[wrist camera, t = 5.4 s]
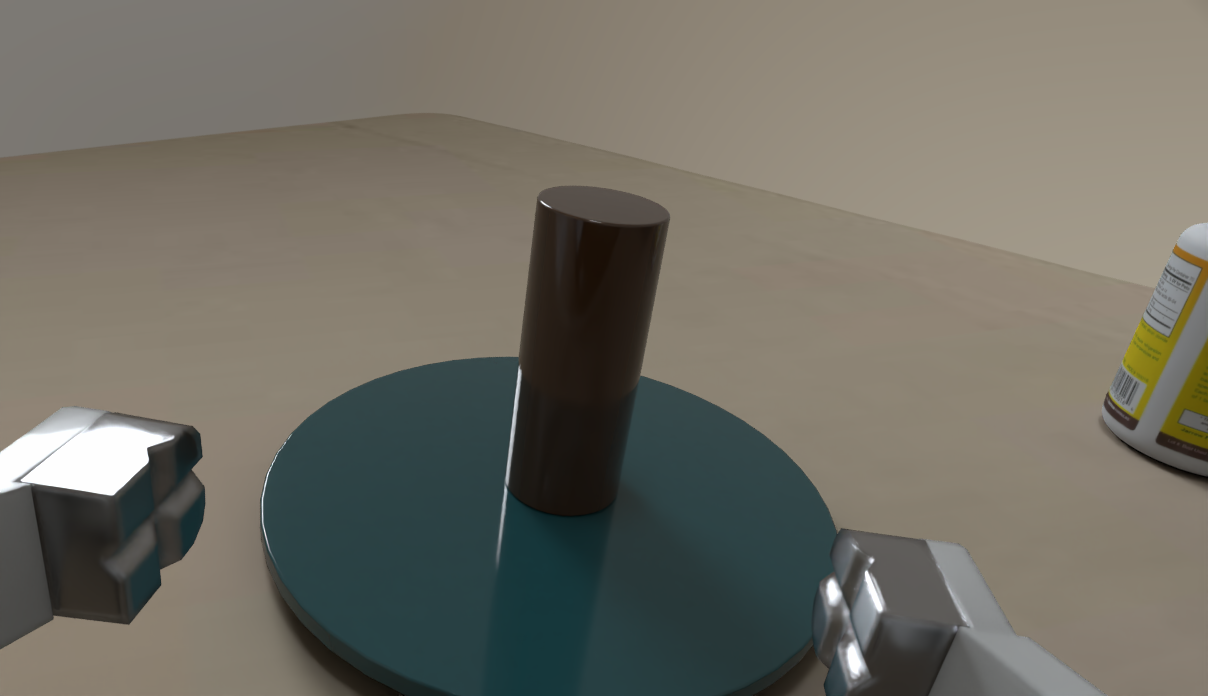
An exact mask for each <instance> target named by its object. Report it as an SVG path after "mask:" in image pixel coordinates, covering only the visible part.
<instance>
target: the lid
mask: <svg viewBox="0 0 1208 696" xmlns="http://www.w3.org/2000/svg"><path fill="white" fill-rule="evenodd" d="M669 221H670V214H669V212H668V211H667V210H666V209H665V208H664V207H662V206H661V205H659V204H657V203H655V202H653V201H651V200H648V199H646V198H643V197H640V196H637V195H634V194H630V193H626V192H622V191H617V190H612V189H606V188H598V187H589V186H559V187H553V188H548V189H545V190H543V191H541V192H540V193H539V195H538V197H537V204H536V213H535V221H534V230H533V238H532V247H531V256H530V264H529V273H528V281H527V290H526V298H525V307H524V316H523V324H522V333H521V341H520V350H519V357H486V358H472V359H461V360H452V361H446V362H440V363H433V364H427V365H423V366H419V367H415V368H410V369H406V370H402V371H398V372H395V373H392V374H389V375H386V376H383V377H380V378H377V379H374V380H372V381H370V382H367V383H365V384H363V385H360V386H358V387H356V388H353V389H351V390H349V391H347V392H346V393H344V394H342V395H340V396H338V397H337V398H335V399H333V400H331V401H330V402H328V403H327V404H325V405H324V406H322V407H321V408H320V409H318V410H317V411H316V412H314V413H313V414H311V415H310V416H309V417H308V418H307V419H306V420H305V421H303V422H302V423H301V424H300V425H299V426H298V427H297V428H296V429H295V430H294V431H293V432H292V433H291V434H290V436H289V437H288V438H287V440H286V441H285V442H284V444H283V445H282V447H281V448H280V449H279V451H278V452H277V453H276V455H275V457H274V460H273V462H272V464H271V466H270V468H269V470H268V472H267V474H266V477H265V481H264V486H263V490H262V494H261V499H260V530H261V542H262V546H263V550H264V555H265V559H266V563H267V567H268V569H269V571H270V573H271V575H272V577H273V579H274V581H275V584H276V586H277V588H278V590H279V592H280V594H281V596H282V597H283V598H284V600H285V601H286V602H287V604H288V605H289V606H290V608H291V609H292V610H293V612H294V613H295V614H296V616H297V617H298V618H299V620H300V621H301V622H302V624H303V625H304V626H305V627H306V628H307V629H308V630H310V631H311V632H312V633H313V634H314V635H315V636H316V637H317V638H318V639H319V640H320V641H321V642H322V643H323V644H324V645H325V646H326V647H327V648H328V649H329V650H331V651H332V652H333V653H335V654H336V655H338V656H339V657H340V658H342V659H343V660H345V661H346V662H348V663H349V664H350V665H352V666H353V667H355V668H356V669H358V670H359V671H360V672H362V673H363V674H365V675H366V676H368V677H370V678H372V679H374V680H376V681H378V682H380V683H382V684H384V685H386V686H388V687H390V688H391V689H393V690H395V691H397V692H399V693H401V694H403V695H405V696H753V695H754V694H756V693H758V692H760V691H761V690H763V689H765V688H767V687H768V686H770V685H772V684H773V683H774V682H776V681H777V680H778V679H779V678H780V677H782V676H783V675H784V674H785V673H786V672H788V671H789V670H790V669H791V668H793V667H794V666H795V665H796V664H797V663H799V661H800V660H801V659H802V658H803V657H804V655H805V654H806V653H807V652H808V650H809V649H810V648H811V647H812V646H813V641H812V629H811V620H812V610H813V602H814V598H815V595H816V592H817V588H818V585H819V582H820V581H821V580H822V579H824V578H825V577H827V576H828V575H829V574H831V573H832V572H833V571H834V568H833V565H832V562H831V558H830V555H829V553H830V550H831V547H832V544H833V542H834V539H835V537H836V535H837V530H836V528H835V525H834V523H833V520H832V517H831V515H830V512H829V510H828V508H827V506H826V504H825V502H824V501H823V499H822V497H821V496H820V494H819V492H818V490H817V489H816V487H815V486H814V485H813V483H812V482H811V481H810V480H809V478H808V477H807V476H806V474H805V473H804V472H803V471H802V469H801V468H800V467H799V466H798V465H797V464H796V463H795V462H794V461H793V460H792V459H791V458H790V457H789V456H788V455H787V454H786V453H785V452H784V451H783V450H782V449H780V448H779V447H778V446H777V445H776V444H774V443H773V442H772V441H771V440H770V439H768V438H767V437H766V436H765V435H763V434H762V433H760V432H759V431H758V430H756V429H755V428H753V427H752V426H750V425H749V424H747V423H746V422H744V421H743V420H741V419H740V418H738V417H736V416H734V415H733V414H731V413H729V412H727V411H726V410H724V409H722V408H720V407H719V406H717V405H714V404H712V403H710V402H708V401H706V400H704V399H702V398H700V397H698V396H696V395H693V394H691V393H688V392H686V391H683V390H681V389H678V388H676V387H674V386H671V385H668V384H665V383H662V382H659V381H656V380H653V379H650V378H647V377H644V376H640V374H641V369H642V364H643V359H644V353H645V348H646V343H647V338H648V332H649V327H650V322H651V316H652V311H653V306H654V301H655V295H656V290H657V285H658V279H659V274H660V269H661V264H662V258H663V253H664V248H665V242H666V237H667V232H668V227H669Z"/></svg>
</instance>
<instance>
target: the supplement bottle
mask: <svg viewBox="0 0 1208 696" xmlns="http://www.w3.org/2000/svg"><path fill="white" fill-rule="evenodd" d="M1102 415H1103V419H1104V421H1105V423H1106V424H1107V426H1108V427H1109V428H1110V430H1111V431H1112V432H1113V433H1114V434H1115V435H1116V436H1118V437H1119V438H1120V439H1121V440H1123V441H1124V442H1126V443H1127V444H1128V445H1130V446H1132V447H1133V448H1135V449H1136V450H1138V451H1140V452H1142V453H1144V454H1146V455H1148V456H1150V457H1152V458H1154V459H1156V460H1158V461H1161V462H1163V463H1165V464H1168V465H1171V466H1173V467H1176V468H1179V469H1181V470H1185V471H1188V472H1191V473H1195V474H1199V475H1203V476H1208V223H1201V224H1196V225H1193V226H1191V227H1189V228H1187V229H1186V230H1185V231H1184V232H1183V233H1182V234H1181V236H1180V237H1179V239H1178V241H1177V243H1176V245H1175V247H1174V249H1173V251H1172V254H1171V256H1170V258H1169V260H1168V262H1167V265H1166V267H1165V269H1164V271H1163V273H1162V275H1161V278H1160V280H1159V282H1158V284H1157V286H1156V289H1155V291H1154V293H1153V295H1152V297H1151V299H1150V302H1149V304H1148V306H1147V308H1146V310H1145V312H1144V314H1143V317H1142V319H1141V321H1140V323H1139V326H1138V327H1137V330H1136V332H1135V334H1134V337H1133V339H1132V341H1131V343H1130V345H1129V348H1128V350H1127V352H1126V354H1125V356H1124V359H1123V361H1122V363H1121V365H1120V367H1119V369H1118V372H1117V374H1116V376H1115V378H1114V380H1113V383H1112V385H1111V387H1110V389H1109V391H1108V393H1107V395H1106V398H1105V400H1104V403H1103V406H1102Z"/></svg>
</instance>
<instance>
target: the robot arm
mask: <svg viewBox="0 0 1208 696" xmlns="http://www.w3.org/2000/svg"><path fill="white" fill-rule="evenodd" d="M202 457H203V456H202V446H201V437H200V433H199V432H198V431H197V430H196V429H195V428H194V427H193V426H189V425H183V424H178V423H172V422H167V421H161V420H155V419H150V418H144V417H138V416H133V415H127V414H121V413H116V412H115V413H112V412H109V411H104V410H98V409H91V408H84V407H78V406H72V407H62V408H61V409H60V410H58V411H57V412H56V413H54V414H53V415H51V416H50V417H49V418H47V419H46V420H44V421H43V422H42V423H40V424H39V425H38V426H36V427H35V428H33V429H32V430H31V431H29V432H28V433H26V434H25V435H24V436H22V437H21V438H20V439H18V440H17V441H15V442H14V443H13V444H11V445H10V446H9V447H7V448H6V449H4V450H3V451H2V452H0V649H2V648H3V647H5V646H7V645H9V644H11V643H12V642H14V641H16V640H18V639H19V638H21V637H23V636H25V635H27V634H28V633H30V632H32V631H34V630H35V629H37V628H39V627H41V626H43V625H44V624H46V623H48V622H50V621H51V620H53V618H54V617H53V615H54V616H62V617H70V618H78V619H86V620H95V621H103V622H111V623H119V624H128V625H129V624H130V623H131V622H132V621H133V619H134V618H135V617H136V616H137V614H138V613H139V612H140V611H141V609H142V608H143V607H144V606H145V604H146V603H147V602H148V601H149V599H150V598H151V597H152V596H153V595H154V593H155V592H156V591H157V590H158V588H159V587H160V586H161V576H160V569H163V568H165V567H167V566H169V565H171V564H173V563H176V562H178V561H180V560H182V558H183V557H184V556H185V554H186V553H187V552H188V550H189V549H190V548H191V546H192V545H193V544H194V541H195V539H196V537H197V534H198V532H199V529H200V527H201V524H202V522H203V516H204V509H205V486H204V485H203V484H202V483H201V481H200V480H199V479H198V478H197V476H196V475H195V474H194V472H193V471H192V470H191V469H192V468H193V467H194V466H195V465H196V464H197V462H198V461H199V460H200V459H201V458H202ZM829 555H830V558H831V562H832V565H833V568H834V571H833V572H832V573H831V574H829V575H828V576H827V577H825V578H824V579H822V580H821V581H820V582H819V585H818V588H817V592H816V595H815V598H814V602H813V610H812V620H811V629H812V641H813V645H814V649H815V653H816V657H817V658H818V659H819V660H820V661H821V662H822V663H823V664H824V665H825V666H826V667H827V668H828V669H829V671H828V674H827V677H826V680H825V683H824V689H825V693H826V696H1107V695H1106V694H1105V693H1103V692H1102V691H1101V690H1099V689H1098V688H1097V687H1095V686H1094V685H1093V684H1091V683H1090V682H1089V681H1087V680H1086V679H1084V678H1083V677H1082V676H1080V675H1079V674H1078V673H1076V672H1075V671H1074V670H1072V669H1071V668H1070V667H1068V666H1067V665H1066V664H1064V663H1063V662H1062V661H1060V660H1059V659H1058V658H1056V657H1055V656H1053V655H1052V654H1051V653H1049V652H1048V651H1047V650H1045V649H1044V648H1043V647H1041V646H1040V645H1039V644H1037V643H1036V642H1035V641H1033V640H1032V639H1031V638H1029V637H1023V636H1017V635H1016V633H1015V632H1014V630H1013V628H1012V626H1011V625H1010V623H1009V621H1008V620H1007V618H1006V616H1005V614H1004V613H1003V611H1002V609H1001V607H1000V606H999V604H998V602H997V601H996V599H995V597H994V595H993V594H992V592H991V590H990V588H989V587H988V585H987V583H986V581H985V580H984V578H983V576H982V575H981V573H980V571H979V569H978V568H977V566H976V564H975V562H974V561H973V559H972V557H971V556H970V554H969V552H968V550H967V549H966V548H964V547H963V546H962V545H960V544H959V543H952V542H944V541H935V540H927V539H913V538H906V537H899V536H892V535H885V534H878V533H871V532H863V531H856V530H849V529H842V528H841V530H840V531H839V533H838V534H837V535H836V537H835V539H834V542H833V544H832V547H831V550H830V553H829Z"/></svg>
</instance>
